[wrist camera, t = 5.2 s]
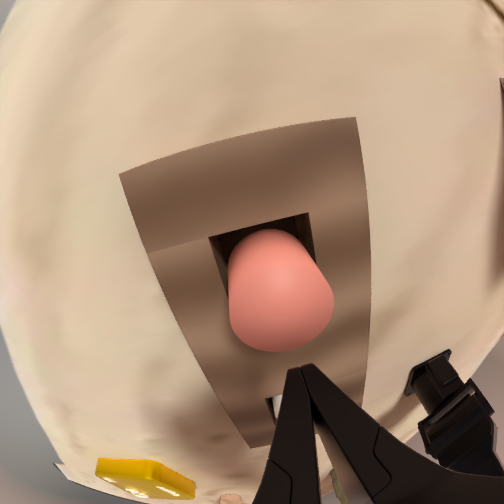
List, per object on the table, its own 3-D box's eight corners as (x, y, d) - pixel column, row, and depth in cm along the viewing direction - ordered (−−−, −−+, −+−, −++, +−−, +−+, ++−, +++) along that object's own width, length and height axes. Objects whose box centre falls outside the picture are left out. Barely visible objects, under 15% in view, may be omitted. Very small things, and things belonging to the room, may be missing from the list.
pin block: (348, 393, 27) (359, 420, 23) (247, 419, 27) (250, 448, 23) (327, 119, 15) (355, 117, 12) (141, 165, 15) (118, 174, 12)
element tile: (198, 482, 38) (199, 501, 34) (140, 482, 39) (138, 499, 35) (155, 457, 32) (152, 481, 28) (94, 455, 33) (89, 475, 29)
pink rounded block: (312, 290, 16) (336, 336, 12) (239, 309, 16) (244, 361, 12) (301, 219, 14) (329, 253, 10) (217, 240, 14) (215, 282, 10)
